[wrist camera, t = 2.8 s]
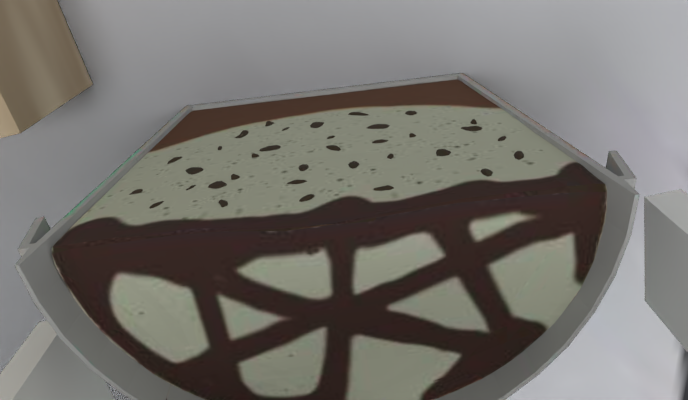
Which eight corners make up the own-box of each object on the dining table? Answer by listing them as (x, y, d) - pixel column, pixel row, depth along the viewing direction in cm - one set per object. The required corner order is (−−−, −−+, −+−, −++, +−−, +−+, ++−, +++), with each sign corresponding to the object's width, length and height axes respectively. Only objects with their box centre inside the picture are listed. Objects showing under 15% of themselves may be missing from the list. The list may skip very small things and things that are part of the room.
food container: (184, 265, 22) (87, 499, 13) (142, 110, 19) (-16, 269, 10) (505, 228, 22) (633, 441, 13) (506, 67, 19) (670, 190, 10)
